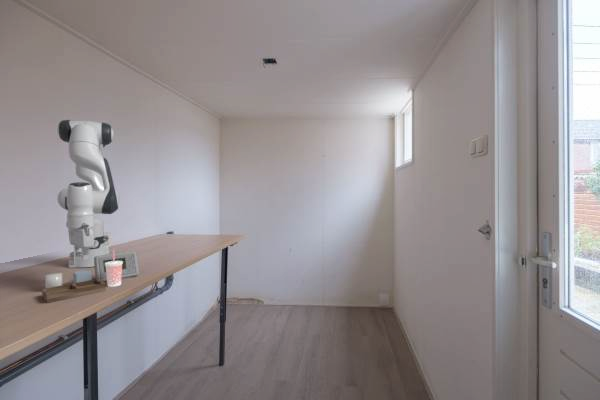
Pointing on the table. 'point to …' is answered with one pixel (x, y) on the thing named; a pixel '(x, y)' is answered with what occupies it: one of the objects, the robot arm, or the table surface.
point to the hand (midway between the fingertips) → (81, 257)
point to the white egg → (53, 279)
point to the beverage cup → (114, 272)
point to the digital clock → (127, 257)
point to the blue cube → (82, 276)
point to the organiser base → (73, 290)
